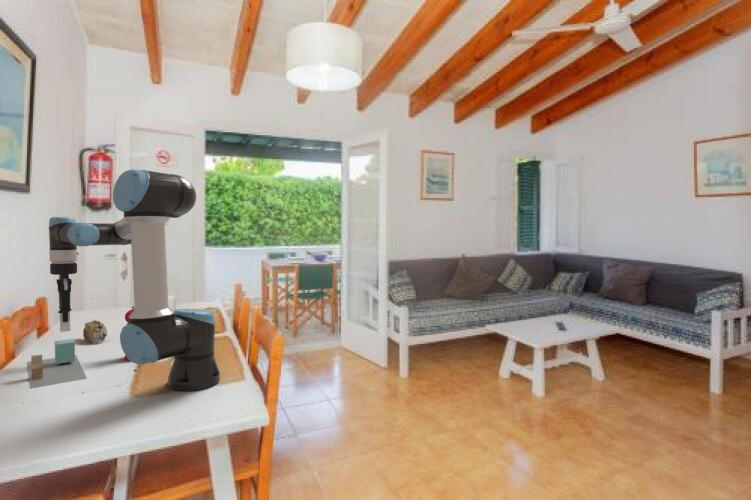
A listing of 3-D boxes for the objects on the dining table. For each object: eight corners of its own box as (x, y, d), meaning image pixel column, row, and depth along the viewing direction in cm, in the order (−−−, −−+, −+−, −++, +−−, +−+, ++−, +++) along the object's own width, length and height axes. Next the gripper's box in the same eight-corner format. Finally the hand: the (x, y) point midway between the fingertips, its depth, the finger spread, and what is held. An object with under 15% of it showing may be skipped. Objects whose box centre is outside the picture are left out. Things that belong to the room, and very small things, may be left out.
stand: (87, 380, 135) (87, 378, 135) (29, 390, 126) (29, 388, 126) (76, 356, 158) (76, 354, 158) (27, 363, 149) (27, 361, 149)
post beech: (42, 378, 134) (42, 356, 134) (31, 380, 132) (31, 357, 132) (42, 376, 136) (41, 354, 136) (31, 377, 134) (31, 355, 134)
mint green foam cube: (74, 361, 148) (74, 342, 148) (56, 363, 145) (55, 344, 145) (73, 357, 152) (72, 338, 152) (54, 359, 149) (54, 341, 148)
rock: (112, 339, 178) (105, 316, 178) (94, 344, 172) (87, 320, 173) (103, 343, 185) (96, 320, 186) (85, 348, 180) (79, 325, 181)
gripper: (79, 263, 144) (80, 333, 145) (74, 260, 154) (76, 326, 155) (51, 264, 139) (52, 336, 140) (48, 261, 149) (50, 329, 150)
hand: (65, 330), depth 148 cm, fingers closed
